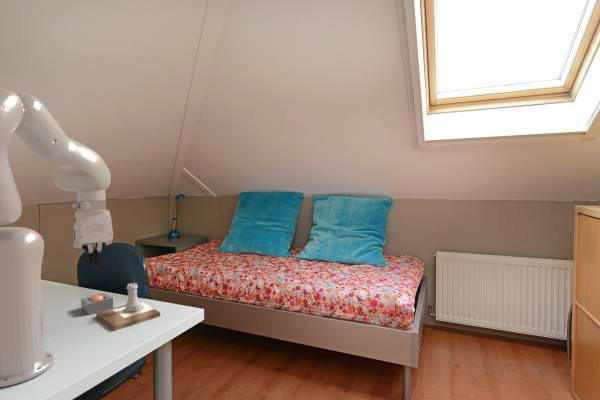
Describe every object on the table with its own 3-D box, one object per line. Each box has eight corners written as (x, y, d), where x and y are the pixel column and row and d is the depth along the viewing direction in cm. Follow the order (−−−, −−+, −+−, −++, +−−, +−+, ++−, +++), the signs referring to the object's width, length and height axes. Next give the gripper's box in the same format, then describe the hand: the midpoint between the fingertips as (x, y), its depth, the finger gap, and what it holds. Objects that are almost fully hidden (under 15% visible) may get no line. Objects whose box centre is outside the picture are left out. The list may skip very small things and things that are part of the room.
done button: (92, 306, 107) (92, 300, 107) (88, 303, 110) (88, 297, 110) (105, 303, 110) (105, 296, 110) (101, 300, 112) (101, 294, 112)
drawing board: (114, 330, 94) (114, 325, 94) (96, 316, 103) (96, 312, 103) (160, 315, 104) (160, 311, 104) (140, 304, 113) (139, 300, 113)
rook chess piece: (134, 312, 103) (133, 286, 102) (121, 311, 104) (120, 285, 103) (144, 307, 107) (143, 282, 107) (131, 306, 108) (130, 281, 108)
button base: (88, 314, 105) (88, 304, 105) (81, 309, 110) (80, 298, 109) (113, 308, 110) (112, 297, 110) (105, 302, 115) (104, 293, 115)
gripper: (67, 208, 99) (70, 270, 100) (122, 205, 111) (123, 262, 111) (60, 207, 104) (62, 267, 105) (113, 205, 116) (114, 259, 116)
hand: (94, 264), depth 108 cm, fingers closed
